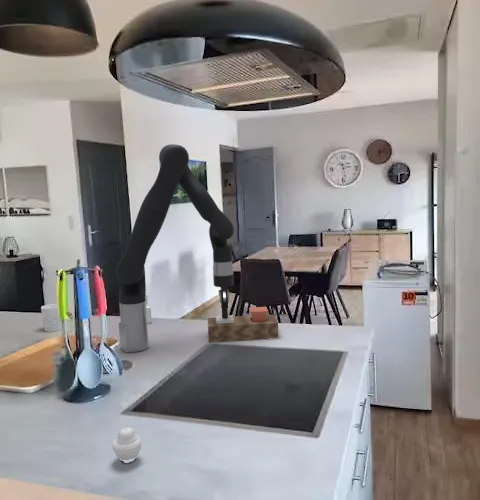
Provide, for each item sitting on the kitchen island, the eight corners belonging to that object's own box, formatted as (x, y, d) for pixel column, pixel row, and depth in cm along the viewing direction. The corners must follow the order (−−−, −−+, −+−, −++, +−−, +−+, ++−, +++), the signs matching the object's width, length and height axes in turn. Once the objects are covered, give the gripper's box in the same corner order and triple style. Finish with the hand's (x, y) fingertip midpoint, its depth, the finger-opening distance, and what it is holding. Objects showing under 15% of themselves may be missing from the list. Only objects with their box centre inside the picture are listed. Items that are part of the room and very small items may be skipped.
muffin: (145, 450, 104) (143, 420, 103) (140, 467, 98) (138, 435, 97) (116, 452, 104) (114, 422, 103) (110, 468, 98) (107, 436, 97)
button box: (208, 342, 176) (207, 326, 175) (208, 332, 188) (207, 317, 187) (278, 338, 178) (278, 322, 177) (273, 329, 190) (273, 314, 189)
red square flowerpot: (251, 326, 179) (250, 311, 178) (249, 322, 186) (249, 307, 185) (268, 326, 180) (268, 311, 179) (266, 321, 186) (265, 306, 185)
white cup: (47, 333, 194) (45, 309, 192) (40, 329, 199) (38, 306, 198) (66, 329, 199) (64, 305, 198) (58, 325, 205) (56, 302, 203)
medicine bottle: (131, 321, 207) (129, 294, 205) (147, 319, 210) (146, 292, 208) (135, 325, 201) (133, 298, 199) (151, 323, 203) (150, 295, 202)
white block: (216, 335, 179) (216, 320, 178) (216, 330, 185) (215, 316, 184) (234, 334, 179) (233, 319, 178) (233, 329, 186) (232, 315, 185)
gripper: (234, 275, 173) (236, 322, 175) (232, 269, 186) (233, 313, 188) (213, 276, 172) (215, 323, 174) (212, 270, 185) (214, 314, 188)
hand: (225, 318), depth 181 cm, fingers closed
